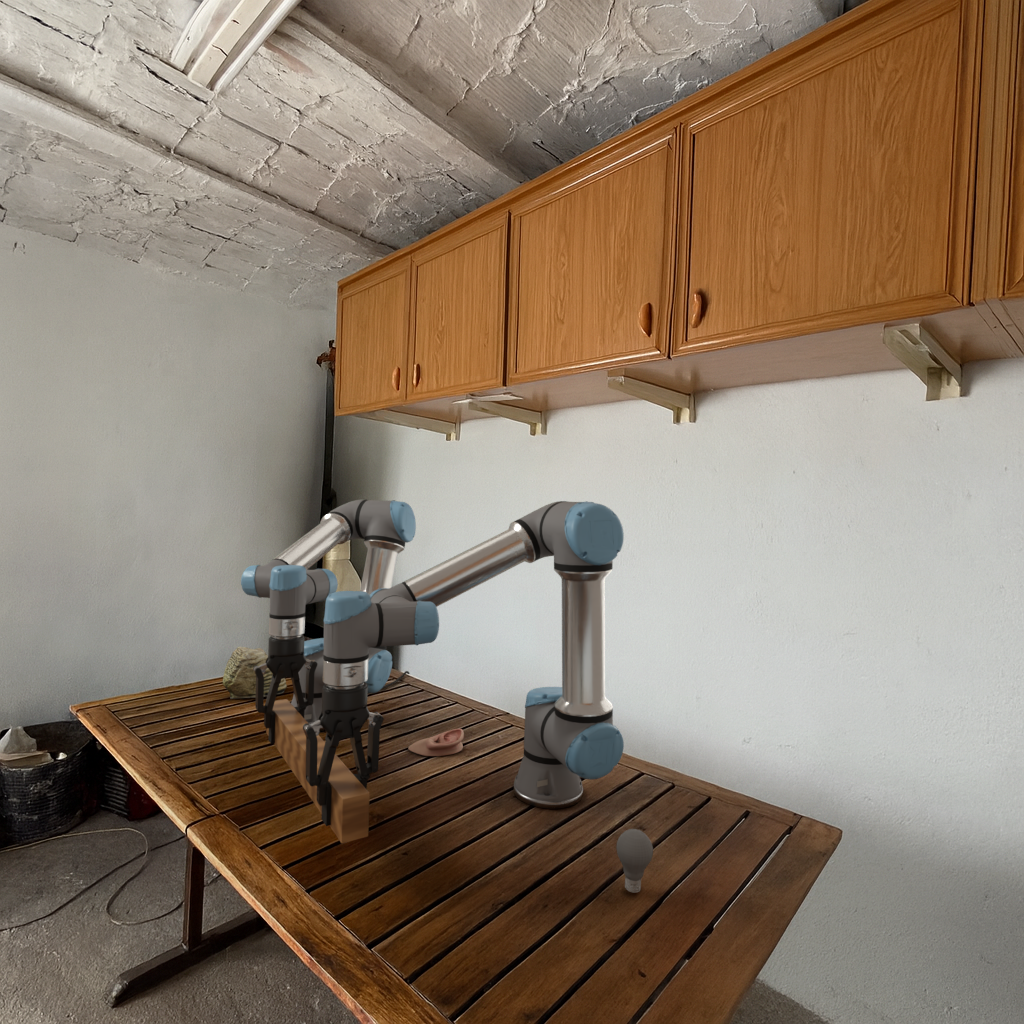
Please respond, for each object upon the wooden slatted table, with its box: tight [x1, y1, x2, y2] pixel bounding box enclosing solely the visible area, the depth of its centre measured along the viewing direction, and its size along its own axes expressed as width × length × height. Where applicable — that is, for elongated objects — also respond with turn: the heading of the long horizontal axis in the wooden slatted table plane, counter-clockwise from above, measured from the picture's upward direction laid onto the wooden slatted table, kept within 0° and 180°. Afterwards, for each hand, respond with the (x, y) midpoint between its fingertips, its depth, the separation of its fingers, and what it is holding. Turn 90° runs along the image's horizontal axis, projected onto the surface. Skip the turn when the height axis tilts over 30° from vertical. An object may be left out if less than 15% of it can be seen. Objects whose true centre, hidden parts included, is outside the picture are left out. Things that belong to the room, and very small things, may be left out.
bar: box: [265, 698, 371, 844], centre depth 125 cm, size 53×4×7 cm, turn 34°
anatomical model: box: [408, 728, 465, 757], centre depth 162 cm, size 13×4×12 cm
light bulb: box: [615, 828, 654, 894], centre depth 106 cm, size 6×6×10 cm
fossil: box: [222, 646, 288, 699], centre depth 198 cm, size 9×18×15 cm, turn 132°
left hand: (283, 739), depth 141 cm, fingers closed on bar, 5 cm apart
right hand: (341, 817), depth 108 cm, fingers closed on bar, 4 cm apart
